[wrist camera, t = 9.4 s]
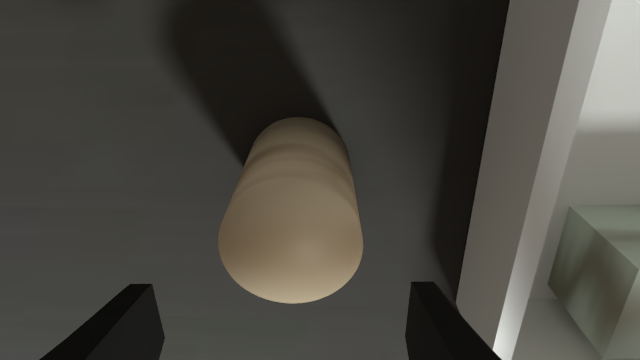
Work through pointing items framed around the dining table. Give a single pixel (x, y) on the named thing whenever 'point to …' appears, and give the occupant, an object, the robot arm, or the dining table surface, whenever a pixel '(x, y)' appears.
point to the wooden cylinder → (293, 215)
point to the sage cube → (601, 276)
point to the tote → (549, 166)
